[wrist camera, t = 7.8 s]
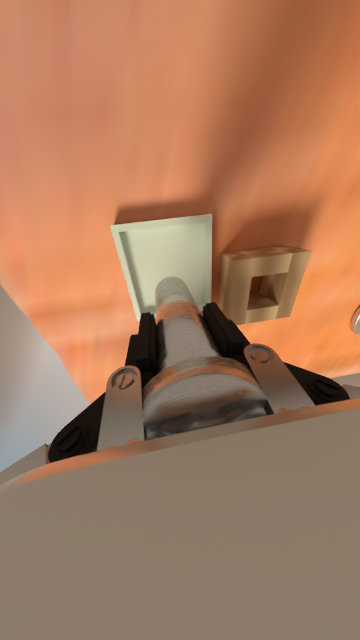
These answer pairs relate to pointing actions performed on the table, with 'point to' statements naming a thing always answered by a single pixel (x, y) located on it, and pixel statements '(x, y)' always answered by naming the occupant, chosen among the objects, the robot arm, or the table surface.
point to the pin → (193, 372)
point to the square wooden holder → (276, 283)
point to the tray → (165, 257)
